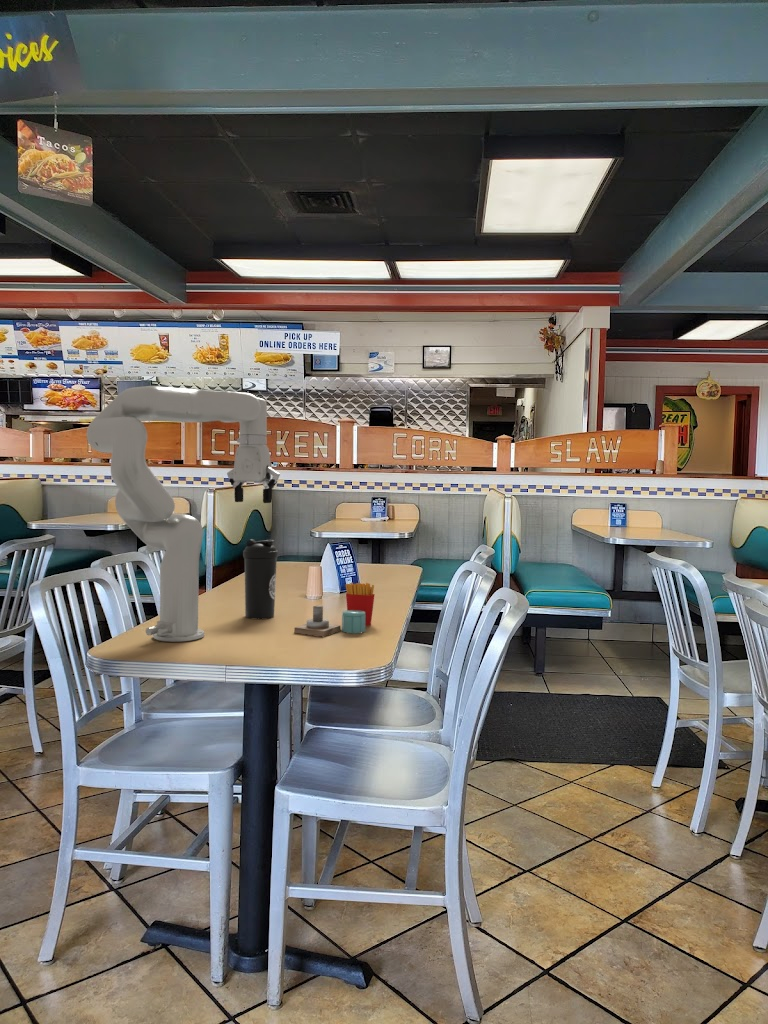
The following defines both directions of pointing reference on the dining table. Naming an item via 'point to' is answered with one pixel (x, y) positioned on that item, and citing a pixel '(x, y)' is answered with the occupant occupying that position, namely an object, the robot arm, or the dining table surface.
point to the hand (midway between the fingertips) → (253, 502)
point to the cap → (353, 621)
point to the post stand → (317, 625)
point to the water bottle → (260, 578)
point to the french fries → (360, 599)
